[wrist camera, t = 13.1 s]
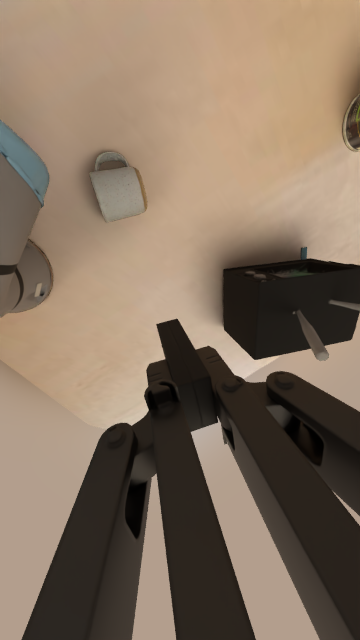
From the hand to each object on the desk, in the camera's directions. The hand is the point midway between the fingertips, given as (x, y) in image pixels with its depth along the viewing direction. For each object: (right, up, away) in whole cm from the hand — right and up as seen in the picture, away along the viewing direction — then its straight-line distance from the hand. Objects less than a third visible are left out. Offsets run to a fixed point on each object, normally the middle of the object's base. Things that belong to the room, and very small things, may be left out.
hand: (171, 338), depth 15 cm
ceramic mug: (-11, +26, +25) cm, 38 cm away
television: (+22, +8, +40) cm, 46 cm away
